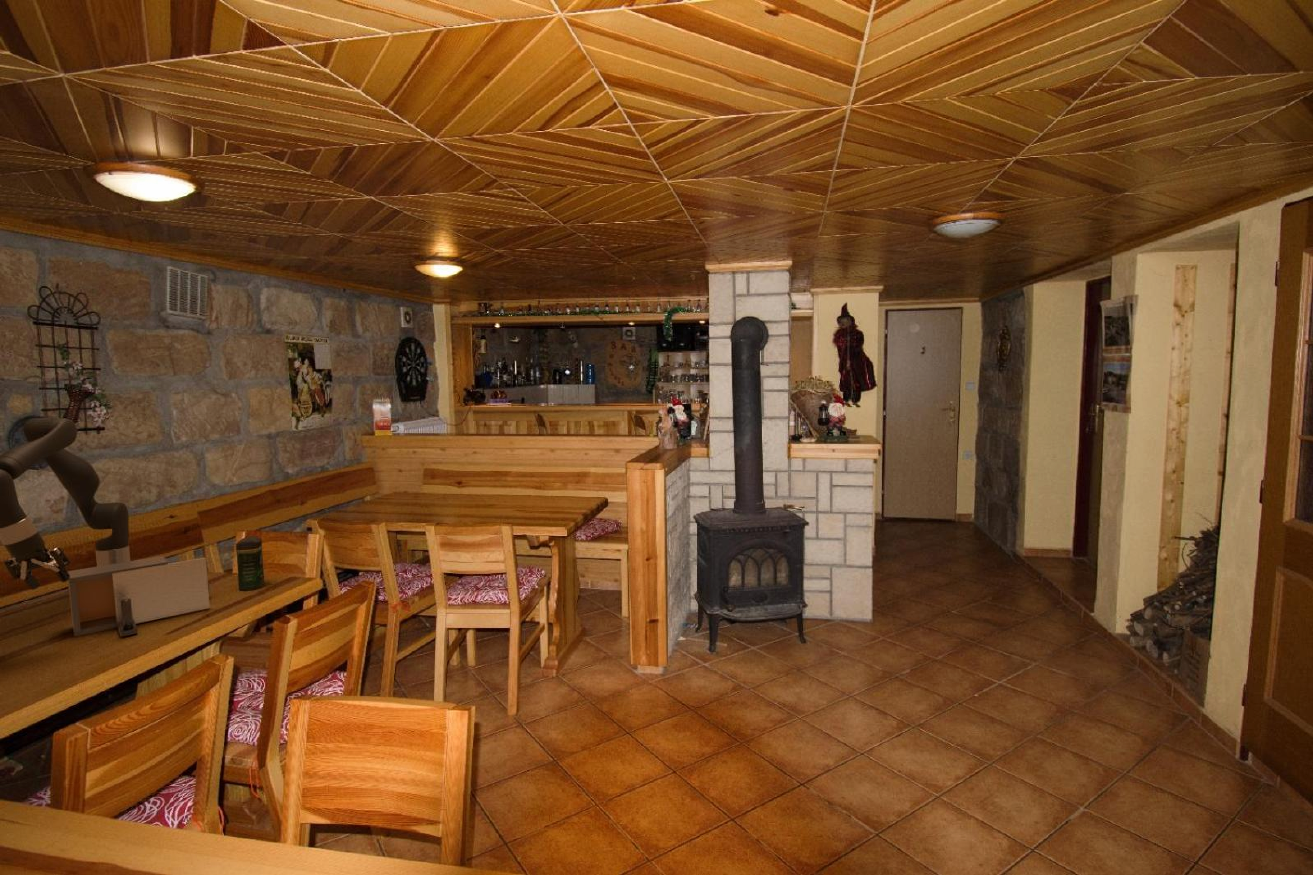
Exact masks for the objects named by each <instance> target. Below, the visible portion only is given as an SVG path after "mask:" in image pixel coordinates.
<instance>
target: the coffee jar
mask: <svg viewBox="0 0 1313 875" xmlns="http://www.w3.org/2000/svg"><path fill="white" fill-rule="evenodd" d="M235 552H236V562H237V563H236V564H237V584H238V589H239V590H243V591H244V590H245V591H251V590H254V589H259V588H261V587H263V585H264V584H265V572H264V571H265V570H264V557H263V556H264V555H263V554H264V553H263V541H262V538H261V537H260V536H258V535H252V536H245V537H244V538H241V539H240V540H238V541H237V542H236V543H235Z"/></svg>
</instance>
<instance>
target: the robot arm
mask: <svg viewBox="0 0 1313 875" xmlns="http://www.w3.org/2000/svg"><path fill="white" fill-rule="evenodd" d="M23 436H24V438H25V440H26V443H23V444H20V445H17V446H14V447H12V448H9V449H8V450H6V451H4V452H3V453H1V454H0V541H1V543H2V545H3V546H4V548H5V549H6V551H7V552H8V554H9V555H10V558H8V559H7V560H5V561H4V562H3V563H4V566H5V567H6V569H7V570H8V572H9V574H10V575H11V578H12V579H13V580H17V579H20V580H22V581H24V582H25V584H26V585H27V586H28V588H29V589H30V590H36V589H38V588H39V587H40V585H41V584H40V582H39V581H38V579H37V577H35V575H34V574H33V570H35V569H42V568H45V569H49V570H51V571H55V574H56V575H57V577H58V578H59V580H60V582H62V583H67V582H68V580H69V579H70V575H69V573H68V572H67V571H68V570H67V569H66V568H67V566H69V565H70V564H71V561H70V559H69V558H68V557H67V555H66V554H65V552H64V551H63V549H62V548H61V547H60V546H55V547H54V548H52V549H48V548H46V542H45V540H44V539H43V537H42V536H41V533H40V532H39V531H38V529H37V527H36V526H35V524H34V523H33V522H32V521H31V519H29V517H28V516H27V514H26V512H25V511H24V509H23V508H22V507H21V505H20V502H19V499H18V498H19V497H18V494H17V491H16V485H15V482H14V481H15V480H16V479H18V478H19V477H21V476H22V475H23V474H24V473H26V472H27V471H28V470H30V469H31V467H34V466H35V465H36V464H38V463H39V462H41V461H42V460H43V461H44V462H45V463H46V464H47V465H48V466H49V469H51V471H52V472H53V473H54V475H55V476H56V478H57V479H58V481H59V482H60V484H61V485H62V486H63V488H64V489H65V490H66V492H68V494H69V495H70V496H71V498H72V499H73V501H74V503H75V504H76V506H77V508H78V509H79V512H80V513H81V516H82V517H83V520H84V521H85V523H86V524H87V526H88V527H89V528H91V529H92V530H95V531H97V530H99V531H100V530H111V534H110V535H109V536H107V537H104V538H100V539H98V540H97V541H96V542H94V543H95V544H94V548H95V557H96V567H98V566H104V565H110V564H116V563H122V562H129V561H131V555H130V554H131V553H130V552H131V551H130V542H129V541H130V540H129V539H130V528H129V526H130V522H129V518H130V517H129V509H128V507H127V505H126V504H125V503H124V502H106V503H105V502H104V503H100V502H98V501H97V500H96V498H95V495H96V493H97V491H98V489H99V487H100V481H101V480H100V477H99V475H98V473H97V472H96V470H95V468H94V467H93V465H91V463H90V462H88V461H87V460H85V459H84V458H83V457H80V456H79V455H76V454H74V453H73V452H70V451H68V450H67V449H66V448H68V447H69V446H71V445H72V444H73V443H74V442H75V441H76V440H77V436H78V428H77V425H76V423H75V422H74V421H73V420H71V419H69V418H65V417H35V418H31V419H29V420H27V421H26V422H25V423H24V425H23Z"/></svg>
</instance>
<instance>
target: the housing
mask: <svg viewBox="0 0 1313 875" xmlns="http://www.w3.org/2000/svg"><path fill="white" fill-rule="evenodd" d="M163 564H169V562H168V560H167V558H165V556H164V555H161V556H155V557H154V556H153V557H148V558H143V559H136V560H130V561H129V562H122V563H116V564H110V565H104V566H98V567H97V566H93V567H88V568H87V567H86V568H80V569H74V570H67V572H68V573H69V575H70V579H69V580H68V581H67V582H68V592H69V594H68V595H69V601H70V611H71V612H70V613H71V620H72V621H71V622H72V623H71V624H72V629H73V634H74V637H75V636H76V637H80V636H84V635H88V634H89V635H90V634H94V633H98V632H103V631H108V630H111V629H112V630H113V629H116V628H117V629H118V627H117V620H116V610H115V600H114V589H113V579H112V573H116V572H122V571H128V570H134V569H140V568H146V567H152V566H157V565H163Z"/></svg>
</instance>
